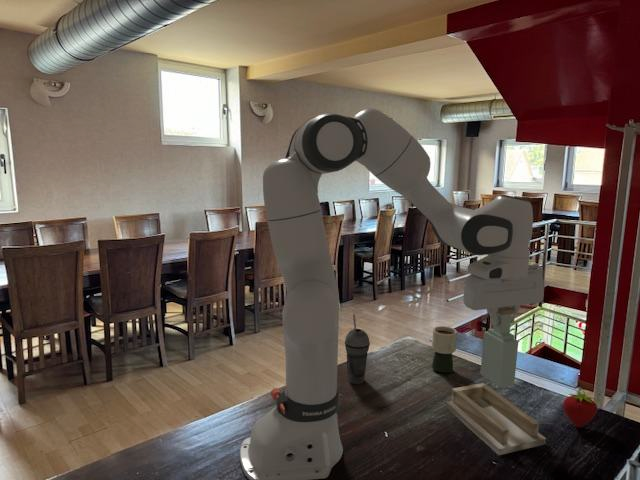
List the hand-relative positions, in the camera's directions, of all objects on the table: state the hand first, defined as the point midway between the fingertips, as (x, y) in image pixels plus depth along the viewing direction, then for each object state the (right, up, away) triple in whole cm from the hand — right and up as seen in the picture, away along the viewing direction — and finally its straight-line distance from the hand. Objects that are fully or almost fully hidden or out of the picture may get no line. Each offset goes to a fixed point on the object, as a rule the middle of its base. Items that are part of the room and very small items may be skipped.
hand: (501, 323), depth 103 cm
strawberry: (+20, -26, +4) cm, 34 cm away
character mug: (-5, -21, +32) cm, 39 cm away
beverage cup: (-32, -22, +25) cm, 46 cm away
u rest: (0, -26, +5) cm, 26 cm away
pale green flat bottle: (0, -14, +3) cm, 14 cm away
